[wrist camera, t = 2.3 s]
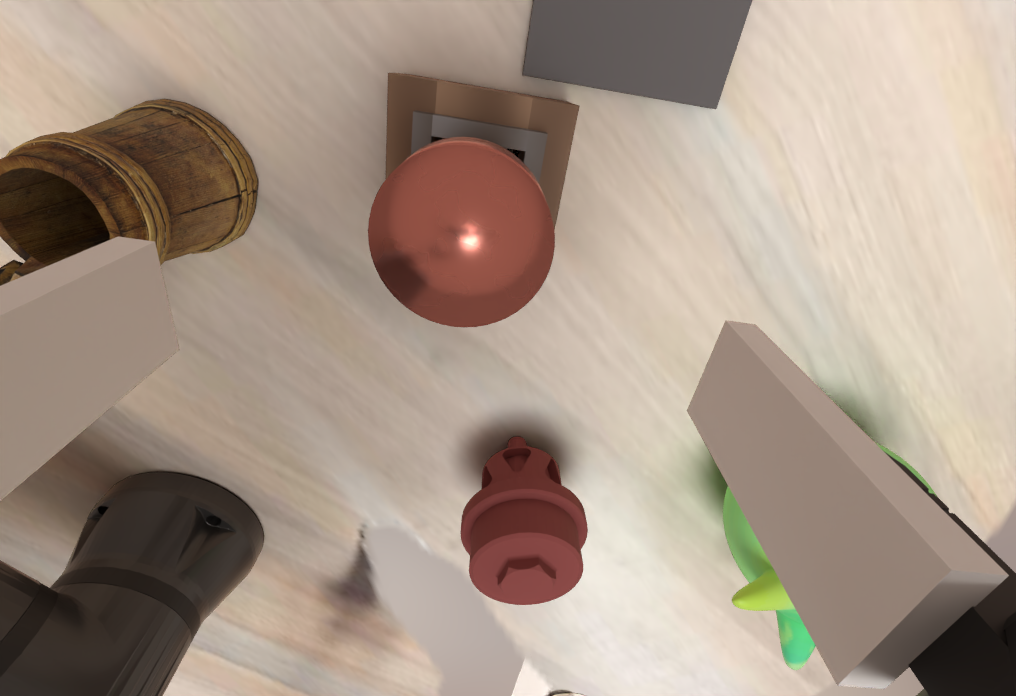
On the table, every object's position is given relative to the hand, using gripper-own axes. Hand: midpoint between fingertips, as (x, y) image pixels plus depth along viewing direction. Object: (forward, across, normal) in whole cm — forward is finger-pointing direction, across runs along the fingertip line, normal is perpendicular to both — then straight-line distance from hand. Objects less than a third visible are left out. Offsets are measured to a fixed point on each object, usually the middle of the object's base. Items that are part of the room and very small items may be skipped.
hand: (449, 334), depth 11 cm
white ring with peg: (+23, +23, -68) cm, 76 cm away
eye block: (+23, 0, 0) cm, 23 cm away
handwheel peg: (+23, 0, 0) cm, 23 cm away
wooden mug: (+23, -20, -5) cm, 31 cm away
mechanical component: (+23, +7, -25) cm, 35 cm away
